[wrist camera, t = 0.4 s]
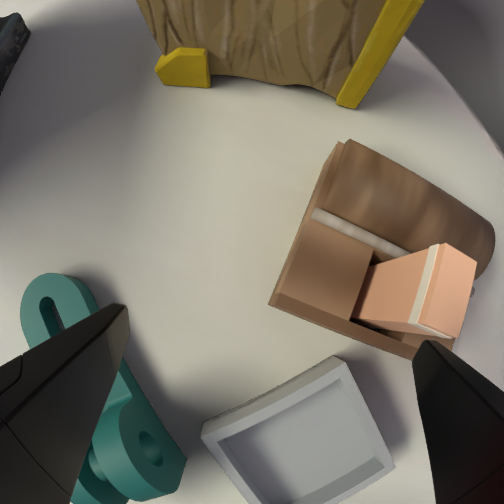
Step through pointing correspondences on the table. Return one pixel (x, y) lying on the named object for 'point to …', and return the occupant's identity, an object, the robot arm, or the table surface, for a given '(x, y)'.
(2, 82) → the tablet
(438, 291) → the peach block
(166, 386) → the table surface
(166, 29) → the decorative book
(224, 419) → the tray
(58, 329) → the bracket
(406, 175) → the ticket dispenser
